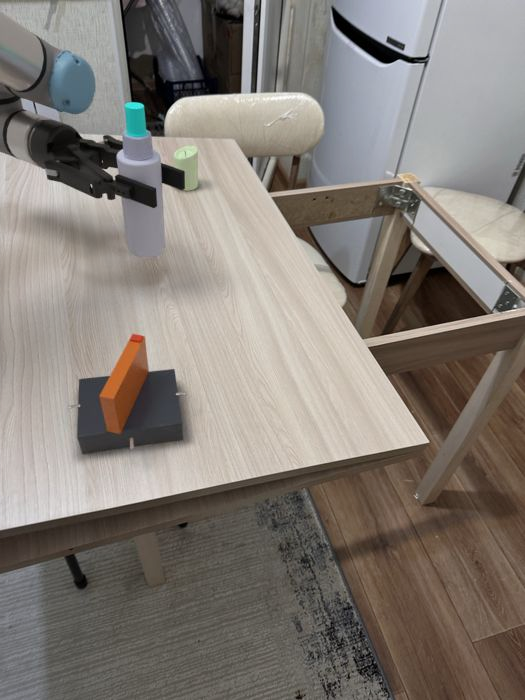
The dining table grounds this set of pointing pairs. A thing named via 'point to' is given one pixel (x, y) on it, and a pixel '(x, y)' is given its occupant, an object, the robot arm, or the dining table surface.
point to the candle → (188, 165)
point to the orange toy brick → (124, 384)
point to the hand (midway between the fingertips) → (169, 189)
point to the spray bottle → (146, 168)
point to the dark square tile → (131, 414)
